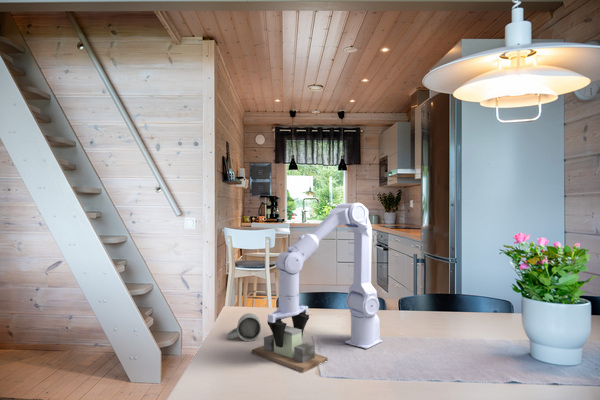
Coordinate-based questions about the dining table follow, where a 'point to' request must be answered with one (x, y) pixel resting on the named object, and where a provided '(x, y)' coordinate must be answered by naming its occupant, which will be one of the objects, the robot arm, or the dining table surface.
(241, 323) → the ceramic mug
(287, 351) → the bracket block
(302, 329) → the robot arm
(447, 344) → the dining table surface
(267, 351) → the post base
